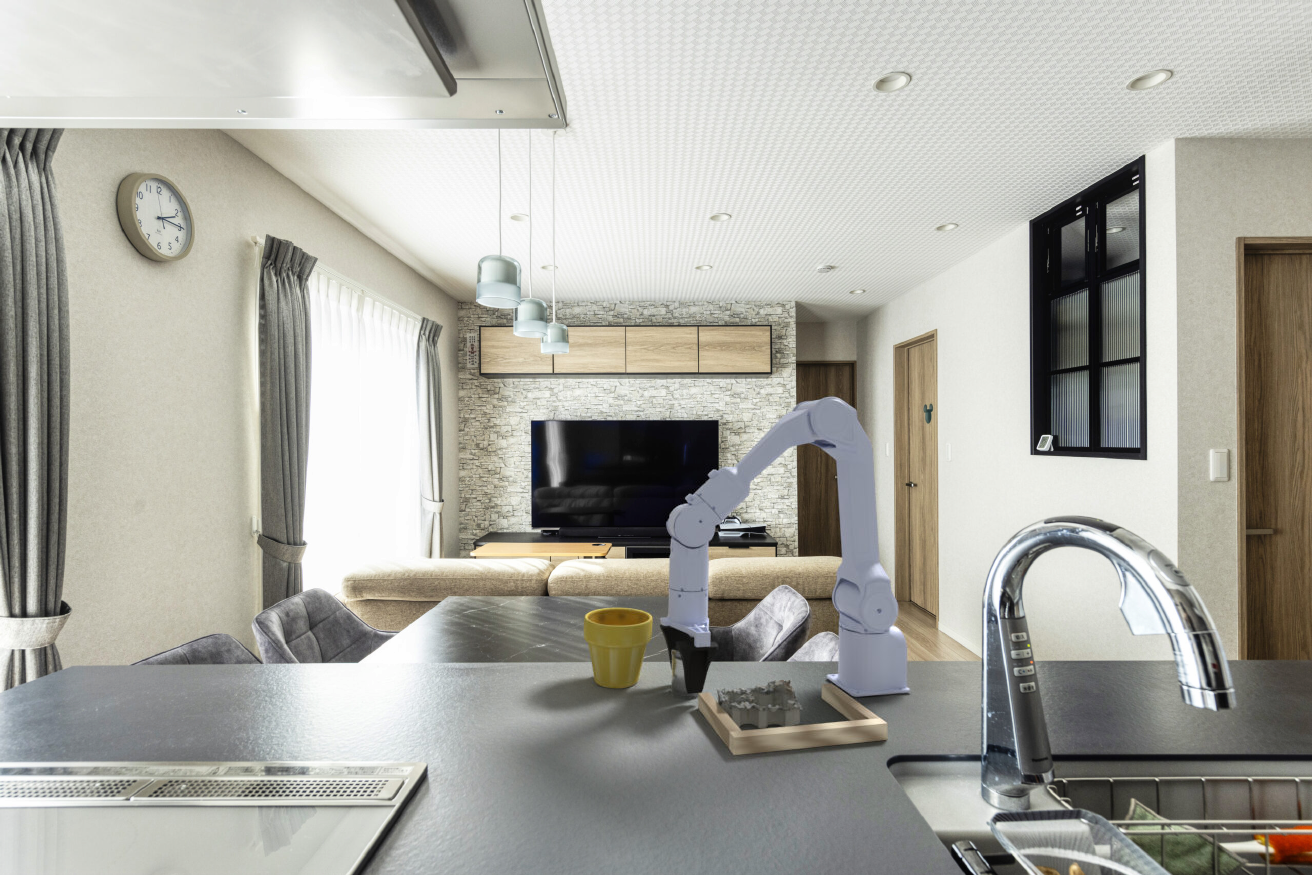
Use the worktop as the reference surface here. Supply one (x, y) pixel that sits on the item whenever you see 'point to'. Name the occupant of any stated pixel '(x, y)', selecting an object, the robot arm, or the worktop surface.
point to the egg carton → (762, 704)
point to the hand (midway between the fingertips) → (686, 682)
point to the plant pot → (617, 644)
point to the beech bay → (798, 727)
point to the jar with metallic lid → (679, 677)
